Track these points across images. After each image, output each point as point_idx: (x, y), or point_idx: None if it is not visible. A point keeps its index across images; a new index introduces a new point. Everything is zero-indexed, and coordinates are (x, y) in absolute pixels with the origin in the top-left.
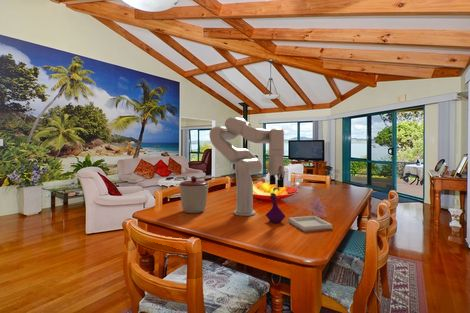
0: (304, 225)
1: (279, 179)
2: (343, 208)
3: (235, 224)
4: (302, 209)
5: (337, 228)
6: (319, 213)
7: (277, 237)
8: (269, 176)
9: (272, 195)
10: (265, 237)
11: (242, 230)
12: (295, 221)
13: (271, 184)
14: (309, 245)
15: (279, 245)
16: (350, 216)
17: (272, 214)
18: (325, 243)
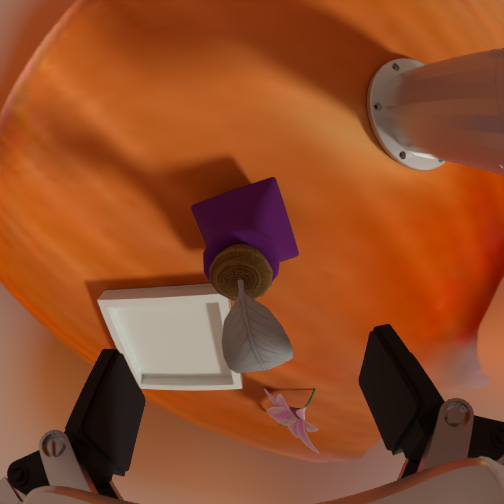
0: (154, 318)
1: (53, 436)
2: (331, 450)
3: (236, 14)
4: None
5: (148, 390)
6: (274, 407)
7: (53, 172)
8: (462, 401)
9: (216, 258)
10: (56, 126)
11: (142, 36)
12: (163, 298)
13: (369, 341)
14: (15, 254)
15: (8, 166)
16: (258, 446)
17: (219, 208)
18: (33, 301)
